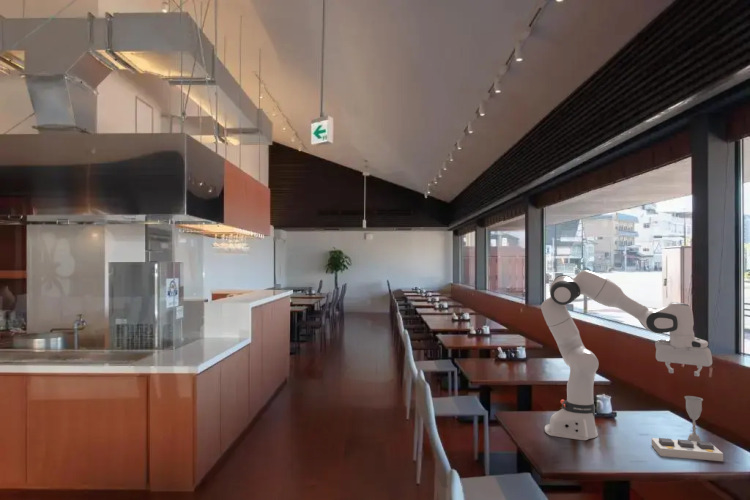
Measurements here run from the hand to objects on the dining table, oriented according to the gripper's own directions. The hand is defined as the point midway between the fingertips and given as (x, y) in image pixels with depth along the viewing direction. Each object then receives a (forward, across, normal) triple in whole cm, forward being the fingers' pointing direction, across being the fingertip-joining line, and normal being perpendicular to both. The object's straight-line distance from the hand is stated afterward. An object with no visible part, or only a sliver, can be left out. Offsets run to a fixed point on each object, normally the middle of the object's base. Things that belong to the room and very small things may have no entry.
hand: (683, 374), depth 207 cm
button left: (+28, -5, -10) cm, 30 cm away
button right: (+29, +7, -2) cm, 30 cm away
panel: (+30, +1, -6) cm, 31 cm away
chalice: (+31, -1, +14) cm, 34 cm away
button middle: (+29, +1, -6) cm, 29 cm away
